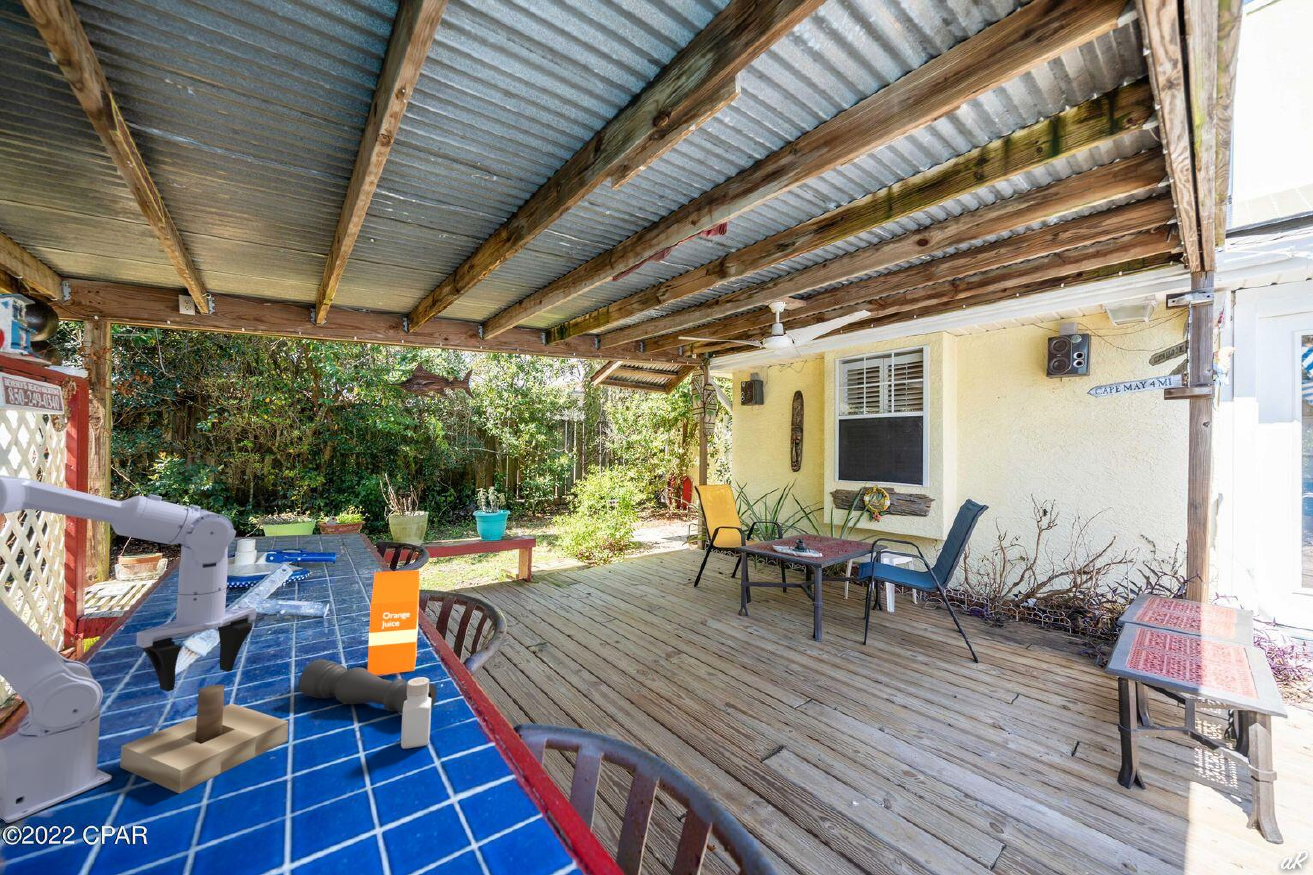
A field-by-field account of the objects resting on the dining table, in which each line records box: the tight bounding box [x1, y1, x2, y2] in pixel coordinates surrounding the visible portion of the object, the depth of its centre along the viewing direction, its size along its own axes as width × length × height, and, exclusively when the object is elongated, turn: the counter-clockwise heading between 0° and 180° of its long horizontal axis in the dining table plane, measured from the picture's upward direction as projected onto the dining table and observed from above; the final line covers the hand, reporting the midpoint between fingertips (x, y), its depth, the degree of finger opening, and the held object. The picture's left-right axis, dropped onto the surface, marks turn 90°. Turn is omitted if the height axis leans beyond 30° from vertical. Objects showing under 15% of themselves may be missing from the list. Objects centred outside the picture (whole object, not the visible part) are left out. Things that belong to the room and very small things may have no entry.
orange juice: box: [367, 569, 420, 676], centre depth 112 cm, size 8×9×20 cm
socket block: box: [119, 702, 289, 794], centre depth 79 cm, size 14×14×3 cm
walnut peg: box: [195, 684, 226, 744], centre depth 79 cm, size 3×3×10 cm
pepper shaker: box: [400, 676, 432, 749], centre depth 84 cm, size 4×4×10 cm
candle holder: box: [298, 658, 438, 716], centre depth 95 cm, size 6×6×25 cm
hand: (197, 679), depth 81 cm, fingers open, 7 cm apart
